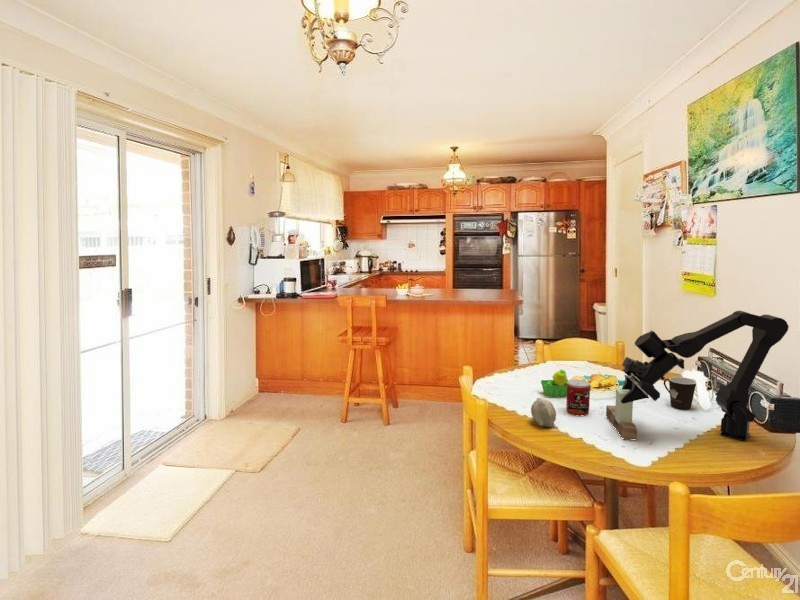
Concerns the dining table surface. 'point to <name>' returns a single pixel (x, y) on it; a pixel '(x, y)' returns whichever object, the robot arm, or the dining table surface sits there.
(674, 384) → the coffee mug
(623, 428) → the rail
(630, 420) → the post
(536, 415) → the grey faceted lump
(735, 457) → the dining table surface
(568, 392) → the canned food
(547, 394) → the fruit basket
